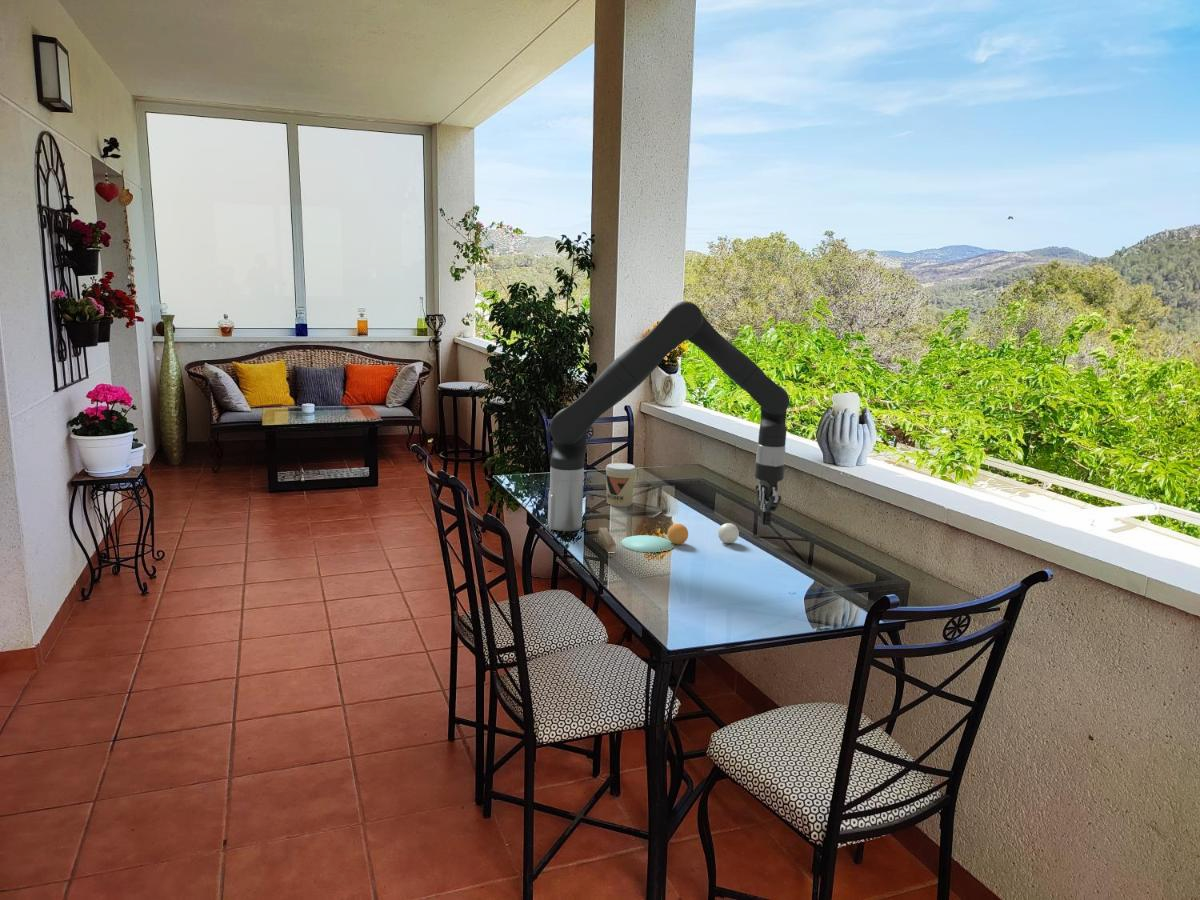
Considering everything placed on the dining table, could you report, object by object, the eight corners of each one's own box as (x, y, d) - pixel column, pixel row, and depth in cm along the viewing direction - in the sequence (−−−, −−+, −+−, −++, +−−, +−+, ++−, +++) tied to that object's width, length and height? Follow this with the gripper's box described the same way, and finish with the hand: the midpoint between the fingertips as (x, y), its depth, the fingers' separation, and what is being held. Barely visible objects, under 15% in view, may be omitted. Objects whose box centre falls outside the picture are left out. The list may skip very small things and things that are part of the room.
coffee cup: (599, 504, 245) (600, 466, 242) (612, 497, 253) (614, 461, 250) (626, 509, 240) (628, 470, 238) (639, 502, 249) (641, 465, 246)
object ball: (669, 547, 206) (671, 527, 205) (664, 540, 212) (665, 521, 210) (690, 547, 207) (691, 527, 206) (684, 540, 212) (685, 520, 211)
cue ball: (721, 546, 209) (722, 526, 208) (714, 540, 214) (716, 520, 213) (740, 546, 210) (742, 526, 208) (734, 539, 215) (735, 520, 214)
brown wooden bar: (607, 553, 199) (608, 544, 199) (598, 536, 213) (599, 527, 212) (615, 553, 200) (615, 544, 199) (605, 536, 213) (606, 527, 213)
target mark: (627, 553, 200) (627, 552, 200) (616, 536, 214) (616, 535, 213) (680, 552, 202) (680, 551, 202) (667, 535, 216) (667, 535, 216)
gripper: (748, 456, 215) (743, 517, 218) (766, 467, 202) (761, 532, 205) (774, 456, 216) (769, 517, 219) (793, 466, 203) (788, 531, 207)
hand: (765, 524), depth 212 cm, fingers closed
